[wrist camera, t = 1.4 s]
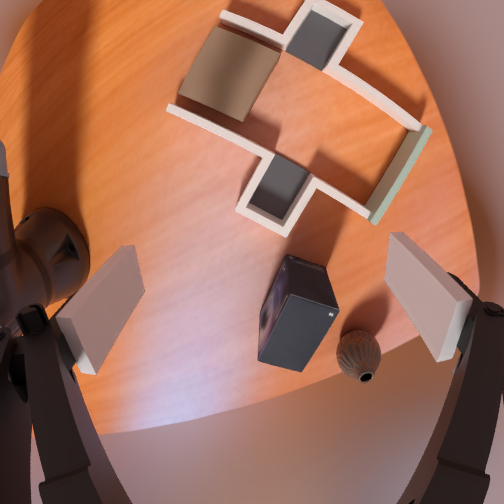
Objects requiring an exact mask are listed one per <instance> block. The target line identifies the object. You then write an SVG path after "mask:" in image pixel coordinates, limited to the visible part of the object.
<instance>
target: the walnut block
mask: <svg viewBox="0 0 504 504" xmlns="http://www.w3.org/2000/svg"><path fill="white" fill-rule="evenodd" d="M279 57H280V53H278V52H276V51H274V50H272V49H270V48H267V47H265V46H263V45H261V44H259V43H256V42H254V41H252V40H249V39H247V38H245V37H242V36H240V35H237V34H235V33H232V32H230V31H227V30H224V29H222V28H219V27H216V26H215V27H214V28H213V30H212V32H211V33H210V35H209V37H208V38H207V40H206V42H205V43H204V45H203V47H202V49H201V50H200V52H199V54H198V56H197V57H196V59H195V61H194V63H193V65H192V67H191V68H190V70H189V72H188V74H187V76H186V78H185V80H184V82H183V84H182V86H181V87H180V89H179V91H178V94H181V95H183V96H185V97H188V98H190V99H192V100H195V101H197V102H199V103H202V104H204V105H206V106H209V107H211V108H213V109H215V110H217V111H220V112H222V113H224V114H226V115H228V116H230V117H233V118H235V119H237V120H239V121H241V122H245V120H246V118H247V116H248V114H249V112H250V110H251V109H252V107H253V105H254V103H255V101H256V100H257V98H258V96H259V94H260V92H261V91H262V89H263V87H264V85H265V83H266V82H267V80H268V78H269V76H270V75H271V73H272V71H273V69H274V68H275V66H276V64H277V63H278V61H279Z"/></svg>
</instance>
